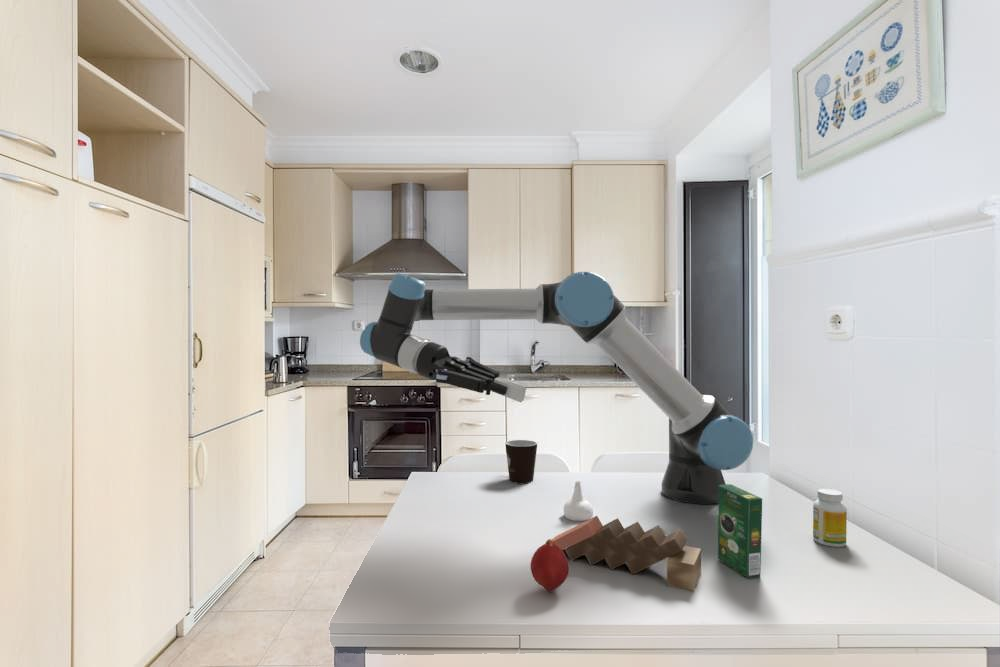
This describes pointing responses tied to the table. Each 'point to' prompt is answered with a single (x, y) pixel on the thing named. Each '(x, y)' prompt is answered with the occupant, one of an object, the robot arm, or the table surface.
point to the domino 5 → (659, 552)
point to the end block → (684, 568)
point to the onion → (549, 566)
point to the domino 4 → (637, 547)
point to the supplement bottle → (829, 518)
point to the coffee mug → (521, 460)
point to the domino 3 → (616, 543)
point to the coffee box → (740, 530)
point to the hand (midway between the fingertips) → (523, 395)
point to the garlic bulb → (578, 506)
